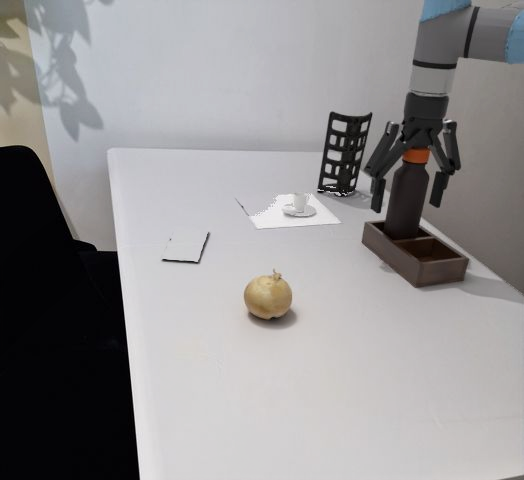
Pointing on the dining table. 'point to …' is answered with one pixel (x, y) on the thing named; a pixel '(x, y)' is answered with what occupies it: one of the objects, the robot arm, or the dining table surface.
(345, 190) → the holder
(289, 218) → the teacup and saucer
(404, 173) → the dark bottle
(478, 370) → the dining table surface
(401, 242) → the bottle holder
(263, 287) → the onion
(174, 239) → the dining table surface
